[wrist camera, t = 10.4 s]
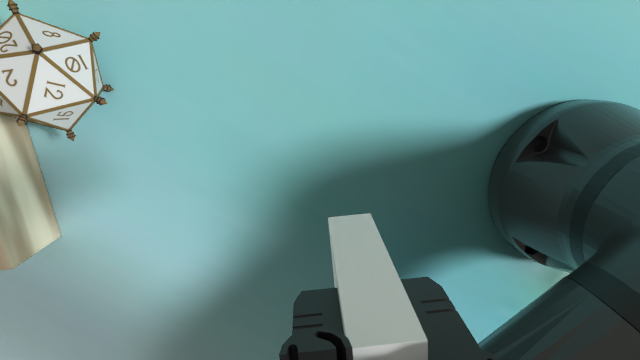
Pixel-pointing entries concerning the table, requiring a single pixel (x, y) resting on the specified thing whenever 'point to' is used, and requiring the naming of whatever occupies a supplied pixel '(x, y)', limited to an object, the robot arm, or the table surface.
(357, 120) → the table surface
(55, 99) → the game die
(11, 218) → the birch board
